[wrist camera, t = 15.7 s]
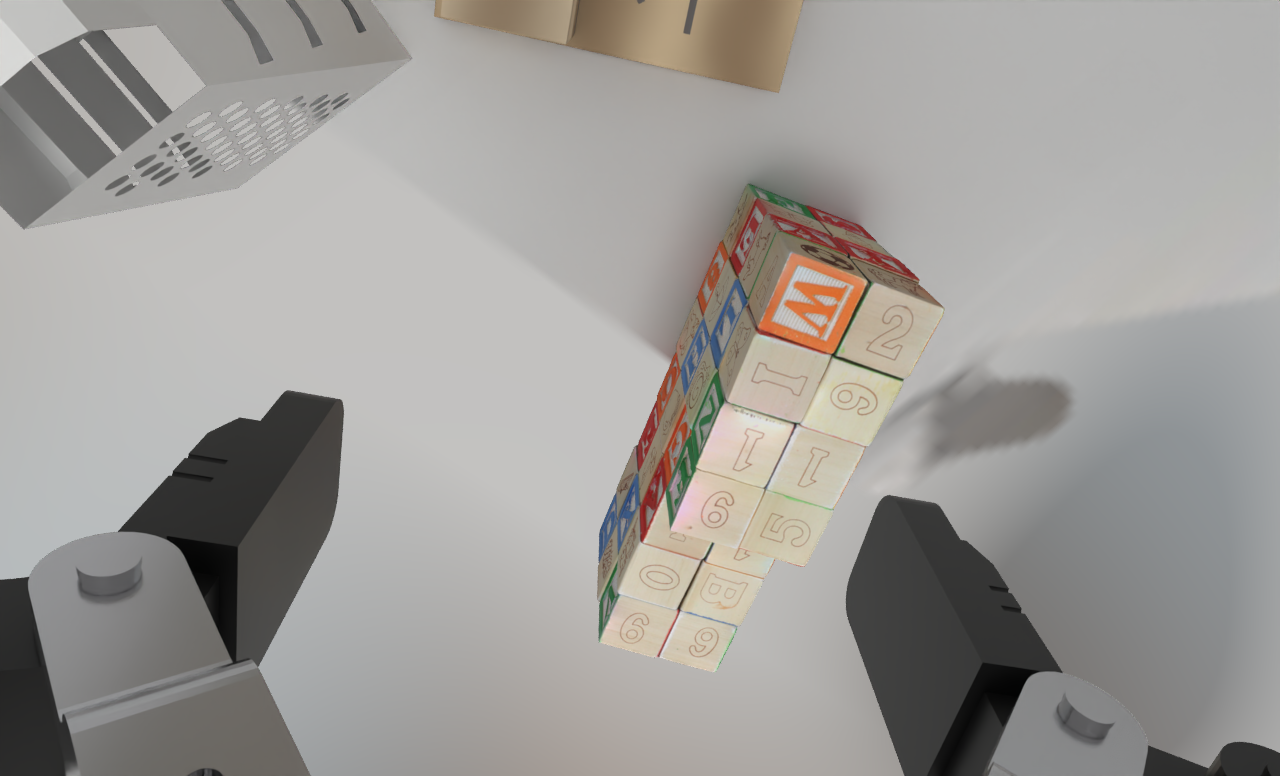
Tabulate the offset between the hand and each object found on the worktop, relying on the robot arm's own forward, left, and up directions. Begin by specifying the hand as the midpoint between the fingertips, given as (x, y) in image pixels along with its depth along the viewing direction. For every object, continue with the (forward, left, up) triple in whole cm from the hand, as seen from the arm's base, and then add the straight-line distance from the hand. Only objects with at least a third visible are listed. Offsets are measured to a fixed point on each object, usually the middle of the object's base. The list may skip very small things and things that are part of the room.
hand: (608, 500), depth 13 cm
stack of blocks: (-8, +11, -30) cm, 33 cm away
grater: (+17, -2, -30) cm, 35 cm away
